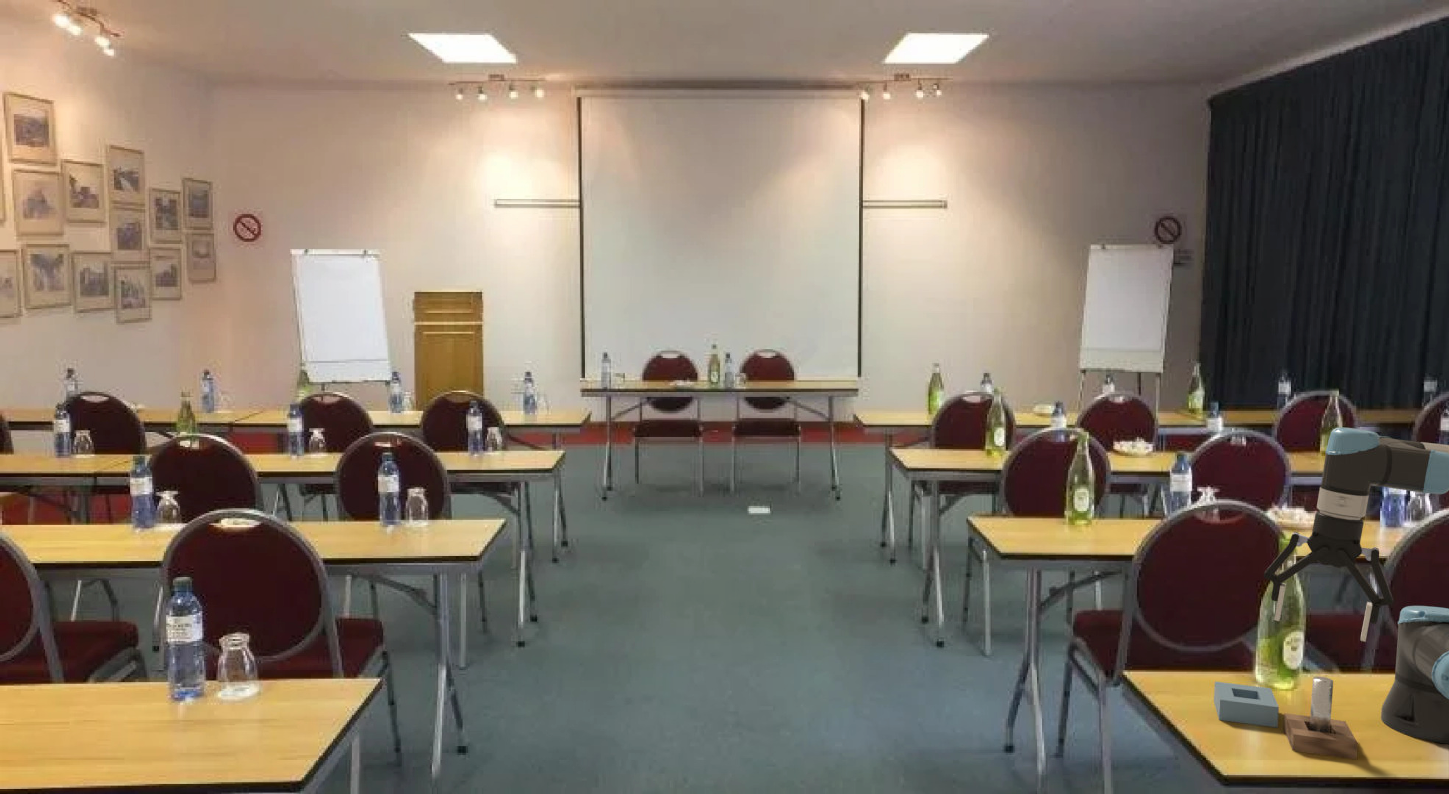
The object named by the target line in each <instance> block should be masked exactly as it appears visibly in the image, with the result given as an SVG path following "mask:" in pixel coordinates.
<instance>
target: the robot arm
mask: <svg viewBox="0 0 1449 794" xmlns="http://www.w3.org/2000/svg"><path fill="white" fill-rule="evenodd" d="M1322 470H1323V471H1322V477H1321V483H1320V486H1319V491H1318V498H1317V504H1316V509H1318V511H1317V512H1315V515H1314V519H1313V525H1312V526H1313V527H1312V531H1311V535H1310V536H1306V535H1303V534H1300V533H1299V532H1298V531H1295V532H1293V533H1292V534H1291V536H1290V540H1289V543H1288V544H1287V545H1286V546H1285V548H1284V549H1282V551H1281V552H1280V554H1278V555H1277V557H1276V558H1275V559H1274V560H1273V562H1271V564H1270V565H1269V566H1268V567H1267V569H1266V570H1265V571H1264V573H1263V577H1264V579H1267V580H1269V581H1271V582H1272V585H1273V586H1272V590H1271V595H1270V598H1271V601H1274V602H1277V603H1276V609H1275V614H1274V621H1277V622H1279V621H1280V619H1281V615H1282V609H1283V603H1284V599H1285V592H1286V588H1287V587H1286V586H1287V583H1284V582H1285V581H1288V579H1290V578H1292V577H1294V575H1296V574H1297V573H1299V572H1300V571H1302V570H1303V569H1305V568H1306V567H1308V566H1309V565H1311V564H1313V563H1314V562H1316V561H1317V562H1318V563H1320V565H1323V566H1333V567H1335V568H1339V569H1341V568H1347V569H1348V571H1349V572H1350V573H1351V574H1352V575H1351V576H1353V578H1354V579H1355V581H1356V582H1357V583H1358V585H1359V586H1360V588H1361V589H1362V591H1363V592H1364V594H1365V595H1366V596H1367V598H1368V599H1369V601H1366V607H1365V612H1364V619H1363V623H1362V628H1361V634H1360V641H1361V642H1365V643H1366V641H1367V636H1368V630H1369V625H1370V624H1373V625H1374V624H1375V625H1376V623H1377V622H1378V618H1379V613H1380V608H1381V607H1383V606H1393V604H1394V597H1393V595H1392V593H1391V590H1390V587H1389V584H1388V581H1387V578H1386V576H1385V573H1384V570H1383V568H1382V566H1381V563H1380V549H1379V548H1378V547H1375V546H1374V547H1373V548H1371V547H1370V548H1368V547H1362V546H1361V541H1362V536H1363V534H1362V533H1363V528H1364V523H1365V522H1364V520H1363V519H1362V518H1364V517H1365V516H1366V515H1367V514H1366V512H1367V506H1368V502H1369V496H1370V489H1371V487H1372V486H1373V487H1379V488H1381V487H1382V488H1383V487H1384V488H1389V489H1396V490H1401V491H1402V490H1403V491H1407V492H1408V491H1409V492H1415V493H1422V494H1424V495H1425V494H1434V495H1444V494H1446V493H1448V492H1449V444H1448V445H1447V444H1442V443H1441V444H1440V443H1431V442H1424V441H1421V442H1419V441H1413V440H1403V439H1397V438H1396V439H1395V438H1393V437H1391V436H1387V435H1386V436H1384V435H1383V436H1382V435H1379V434H1378V433H1377V432H1375V431H1371V430H1365V429H1359V428H1354V427H1336V428H1334V429H1332V430H1331V431H1330V435H1329V437H1328V443H1327V446H1326V449H1325V457H1324V464H1323V469H1322ZM1303 544H1307V546H1308V548H1309V550H1310V552H1309V553H1307V554H1306V555H1305V556H1304V557H1302V558H1301V559H1299V560H1298V561H1296V562H1295V563H1294V564H1292V565H1290V566H1289V567H1288V568H1286V569H1284V570H1283V571H1282V572H1280V573H1278V574H1276V572H1277V570H1278V569H1279V568H1280V567H1281V566H1282V565H1283V564H1284V562H1285V561H1286V560H1287V559H1288V558H1289V557H1290V556H1291V554H1292V553H1293V552H1294V550H1296V547H1299V548H1300V547H1302V546H1303ZM1362 555H1363V556H1364V557H1365V560H1366V561H1368V562H1370V563H1371V568H1372V572H1373V573H1374V576H1375V578H1376V581H1377V583H1378V587H1379V589H1380V592H1381V596H1379V595H1378V594H1377V591H1375V589H1374V588H1373V586H1372V585H1371V583H1370V582H1369V581H1368V579H1367V577H1365V575H1364V573H1363V571H1361V569H1360V567H1359V566H1358V564H1357V562H1356V561H1355V560H1356V559H1357V558H1358V557H1360V556H1362ZM1397 625H1398V630H1397V641H1396V642H1397V643H1396V645H1397V646H1396V655H1395V657H1396V658H1395V659H1396V661H1395V673H1394V682H1393V684H1392V686H1391V687H1390V689H1389V691H1388V694H1387V696H1386V698H1385V700H1384V702H1383V703H1382V707H1381V712H1380V719H1381V721H1382V723H1384V725H1386V726H1387V727H1389V728H1390V729H1393V730H1394V731H1396V732H1399V733H1401V734H1403V735H1406V736H1409V737H1413V738H1416V739H1420V740H1423V741H1427V742H1432V743H1440V744H1449V608H1446V607H1439V606H1427V605H1407V606H1405V607H1403V608H1402V609H1401V611H1399V620H1398V621H1397Z"/></svg>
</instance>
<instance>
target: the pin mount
mask: <svg viewBox="0 0 1449 794" xmlns="http://www.w3.org/2000/svg"><path fill="white" fill-rule="evenodd" d="M1283 713H1284V714H1283V715H1284V716H1283V731H1284V734H1285V735H1286V736H1285V737H1286V739H1287V740H1288V743H1289V745H1290V747H1291V750H1292V751H1295V752H1302V753H1310V754H1314V755H1315V754H1317V755H1322V756H1323V755H1324V756H1331V757H1337V758H1345V759H1351V760H1357V758H1358V757H1357V756H1358V746H1359V745H1358V743H1359V742H1358V741H1357V739H1356V738H1355V736H1354V734H1353V733H1352V730H1351V729H1350V727H1349V725H1348V723H1347V722H1346V720H1340V719H1334V718H1333V719H1332V718H1331V722H1330V733H1323V732H1316V731H1309V729H1310V715H1302V714H1293V713H1286V712H1283Z"/></svg>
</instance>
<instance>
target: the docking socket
mask: <svg viewBox="0 0 1449 794" xmlns="http://www.w3.org/2000/svg"><path fill="white" fill-rule="evenodd" d="M1213 693H1214V694H1213V703H1214V706H1215V709H1216V710H1215V711H1216V713H1217V714H1216V715H1217V717H1218V720H1219V721H1225V722H1231V723H1232V722H1233V723H1239V724H1246V725H1256V726H1261V727H1269V728H1278V723H1279V711H1280V710H1279V709H1280V706H1279V704H1278V702H1277V700H1276V698H1275V695H1274V692H1273V690H1272V688H1271V687H1264V686H1254V685H1247V684H1237V683H1231V682H1225V681H1224V682H1222V681H1214V692H1213Z"/></svg>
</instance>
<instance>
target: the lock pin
mask: <svg viewBox="0 0 1449 794" xmlns="http://www.w3.org/2000/svg"><path fill="white" fill-rule="evenodd" d="M1311 688H1312V689H1311V703H1310V704H1311V705H1310V715H1309V716H1310V729H1309V731H1316V732H1323V733H1330V722H1331V719H1332V706H1333V693H1334V691H1333V689H1334V680H1333V679H1331V678H1329V677H1325V676H1317V675H1316V676H1313V677H1312V686H1311Z"/></svg>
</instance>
